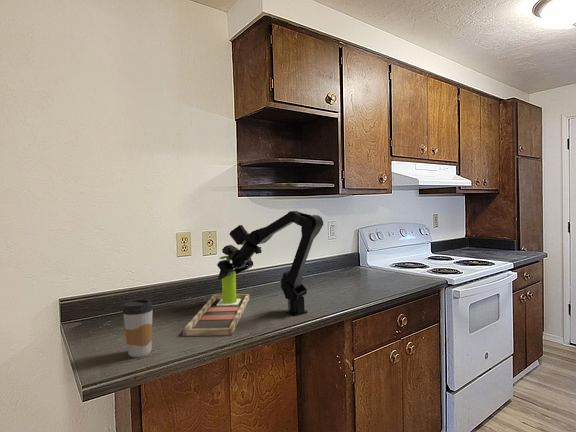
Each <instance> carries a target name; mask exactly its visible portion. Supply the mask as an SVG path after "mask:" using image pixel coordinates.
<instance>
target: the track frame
mask: <svg viewBox="0 0 576 432" xmlns="http://www.w3.org/2000/svg"><path fill="white" fill-rule="evenodd" d="M250 295H251V294H250V293H236V299H241V300H242V302H241V305H240V306H239V307H240V308H239V310H238V311H237V312H235V314H234V315H235V317H234V319H233V320H231V323H230V325H229V327H212V328H211V327H210V328H209V327H207V328H205V327H203V328H199V327H198V328H197V327H196V325H197V324H198V323H199V321H200V319H201V318H202V317H203V316H204V315H206V313H207V311H208V310H209V308H211V306H212V305H214V303H215V302H216V300H219V301H220V300H221V299H223V293H221V294H213V295H211V297H210V298H209V299H208V300H207V302H206V303H204V305H203V306H202V308H201V309H199V310H198V311H197V313H196V314H195V315H194V316H193V317H192V319H191V320H190V321H189V322H188V323H187V325H185V327H184V328H183V329H182V337H194V336H195V337H198V336H199V337H200V336H201V337H202V336H203V337H204V336H208V337H211V336H212V337H213V336H233V333H234V332H235V330H236V328H237V325H238V323H239V321H240V320H241V317H242V314H243V313H244V312H245V309H246V306H247V305H248V302H249V301H250V297H251V296H250ZM194 327H196V328H194Z"/></svg>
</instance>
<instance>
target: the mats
mask: <svg viewBox="0 0 576 432" xmlns="http://www.w3.org/2000/svg"><path fill="white" fill-rule="evenodd" d="M239 308H240V306H233V307H232V306H226V307H225V306H216V307H214V306H213V307H210V308H209V309H208V310H207V311H206V313H222V312H224V313H227V312H230V313H232V312H235V313H237V311H238V310H239ZM235 315H236V314H210V315H209V314H207V315H206V314H204V315H203V316H202V317H201V319H200V320H199V321H233V319H234V317H235Z"/></svg>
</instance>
